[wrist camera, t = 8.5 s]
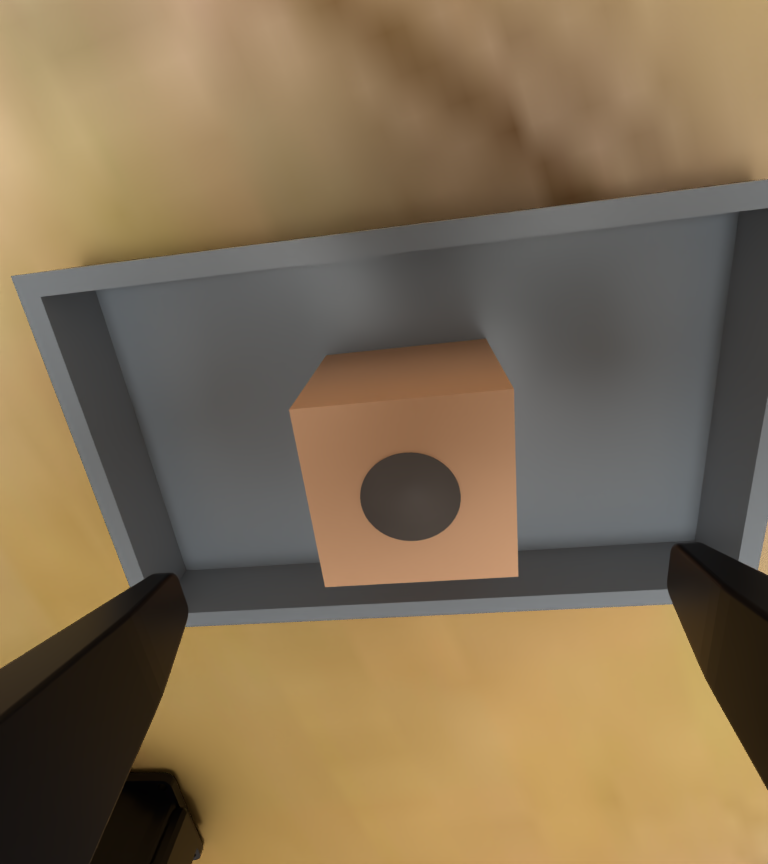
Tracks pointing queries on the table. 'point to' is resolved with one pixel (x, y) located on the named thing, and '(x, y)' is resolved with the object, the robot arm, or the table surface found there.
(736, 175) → the table surface
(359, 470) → the bored block
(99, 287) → the tray
